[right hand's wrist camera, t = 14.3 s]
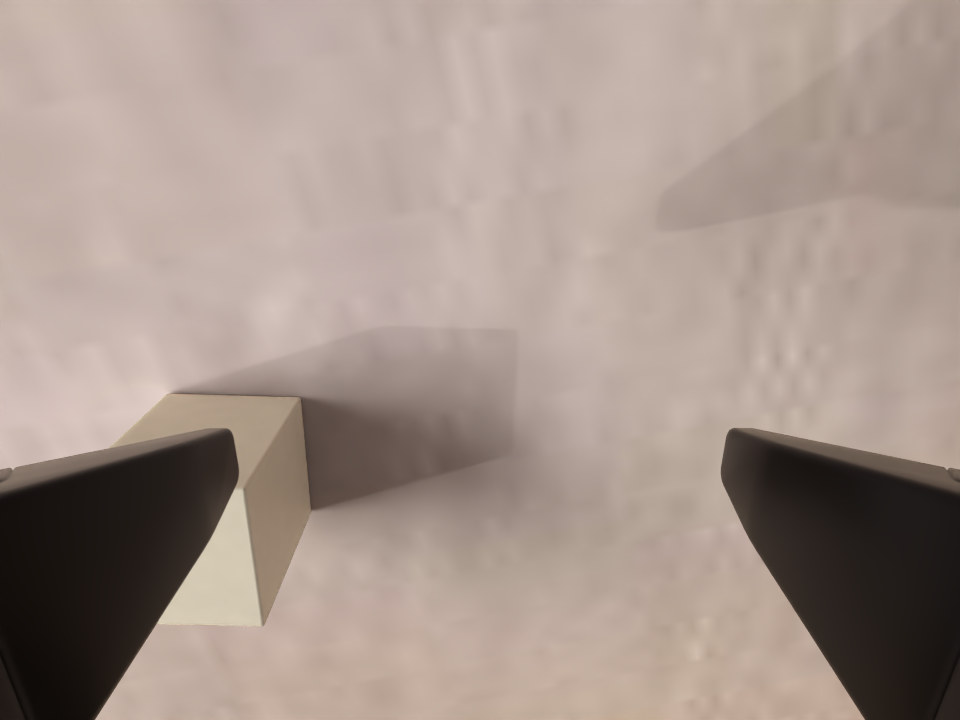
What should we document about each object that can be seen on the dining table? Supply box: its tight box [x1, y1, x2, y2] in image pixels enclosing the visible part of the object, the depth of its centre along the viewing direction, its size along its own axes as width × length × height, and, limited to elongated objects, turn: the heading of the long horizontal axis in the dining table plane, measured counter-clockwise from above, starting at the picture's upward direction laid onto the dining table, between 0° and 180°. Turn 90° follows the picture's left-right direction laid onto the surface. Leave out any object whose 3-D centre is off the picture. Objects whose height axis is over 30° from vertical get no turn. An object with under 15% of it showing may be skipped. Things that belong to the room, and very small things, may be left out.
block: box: [110, 394, 311, 627], centre depth 17 cm, size 4×4×5 cm
